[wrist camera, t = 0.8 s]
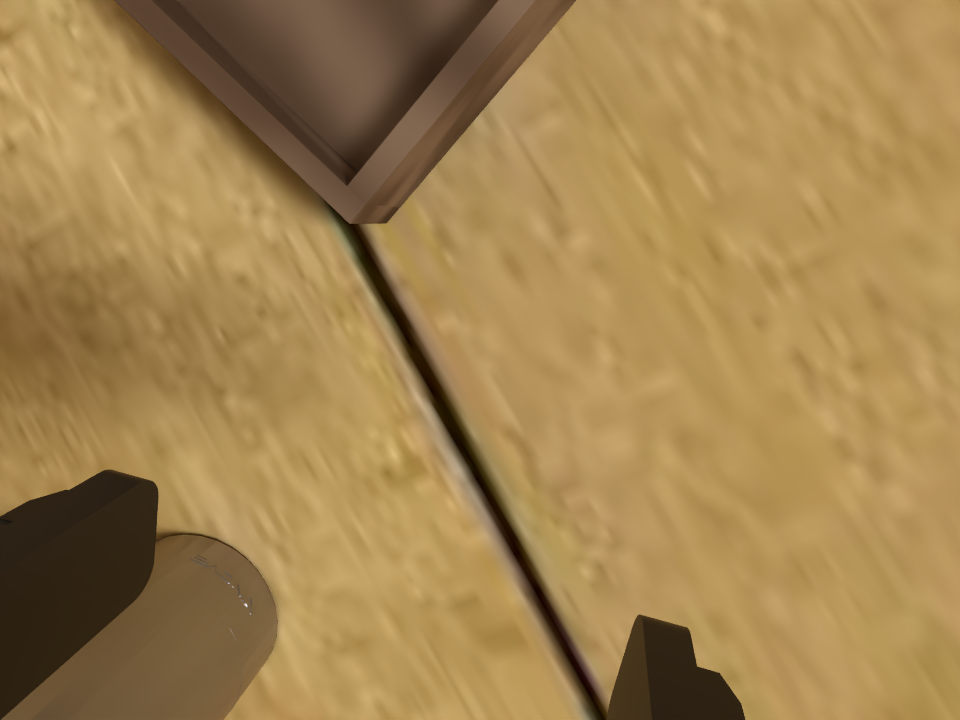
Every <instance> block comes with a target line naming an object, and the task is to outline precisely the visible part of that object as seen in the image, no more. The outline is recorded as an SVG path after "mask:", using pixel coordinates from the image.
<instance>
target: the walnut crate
mask: <svg viewBox="0 0 960 720" xmlns="http://www.w3.org/2000/svg"><path fill="white" fill-rule="evenodd" d="M115 1H116V2H117V3H118V4H119V5H120V6H121V7H122V8H123V9H124V10H125V11H126V12H127V13H128V14H129V15H130V16H131V17H133V18H134V19H135V20H136V21H137V22H138V23H139V24H140V25H141V26H142V27H143V28H144V29H145V30H146V31H147V32H148V33H149V34H150V35H151V36H153V37H154V38H155V39H156V40H157V41H158V42H159V43H160V44H161V45H162V46H163V47H164V48H165V49H166V50H167V51H168V52H169V53H170V54H171V55H173V56H174V57H175V58H176V59H177V60H178V61H179V62H180V63H181V64H182V65H183V66H184V67H185V68H186V69H187V70H188V71H189V72H190V73H191V74H193V75H194V76H195V77H196V78H197V79H198V80H199V81H200V82H201V83H202V84H203V85H204V86H205V87H206V88H207V89H208V90H209V91H210V92H211V93H213V94H214V95H215V96H216V97H217V98H218V99H219V100H220V101H221V102H222V103H223V104H224V105H225V106H226V107H227V108H228V109H229V110H230V111H232V112H233V113H234V114H235V115H236V116H237V117H238V118H239V119H240V120H241V121H242V122H243V123H244V124H245V125H246V126H247V127H248V128H249V129H250V130H252V131H253V132H254V133H255V134H256V135H257V136H258V137H259V138H260V139H261V140H262V141H263V142H264V143H265V144H266V145H267V146H268V147H269V148H270V149H272V150H273V151H274V152H275V153H276V154H277V155H278V156H279V157H280V158H281V159H282V160H283V161H284V162H285V163H286V164H287V165H288V166H289V167H290V168H292V169H293V170H294V171H295V172H296V173H297V174H298V175H299V176H300V177H301V178H302V179H303V180H304V181H305V182H306V183H307V184H308V185H309V186H310V187H312V188H313V189H314V190H315V191H316V192H317V193H318V194H319V195H320V196H321V197H322V198H323V199H324V200H325V201H326V202H327V203H328V204H329V205H331V206H332V207H333V208H334V209H335V210H336V211H337V212H338V213H339V214H340V215H341V216H342V217H343V218H344V219H345V220H346V221H347V222H348V223H349V224H371V223H387V222H388V221H389V220H390V219H391V217H392V216H393V215H394V214H395V213H396V211H397V210H398V209H399V208H400V207H401V206H402V204H403V203H404V202H405V201H406V200H407V199H408V197H409V196H410V195H411V194H412V193H413V191H414V190H415V189H416V188H417V187H418V186H419V184H420V183H421V182H422V181H423V180H424V179H425V177H426V176H427V175H428V174H429V173H430V171H431V170H432V169H433V168H434V167H435V166H436V164H437V163H438V162H439V161H440V160H441V159H442V157H443V156H444V155H445V154H446V153H447V152H448V150H449V149H450V148H451V147H452V146H453V144H454V143H455V142H456V141H457V140H458V139H459V137H460V136H461V135H462V134H463V133H464V132H465V130H466V129H467V128H468V127H469V126H470V124H471V123H472V122H473V121H474V120H475V119H476V117H477V116H478V115H479V114H480V113H481V112H482V110H483V109H484V108H485V107H486V106H487V104H488V103H489V102H490V101H491V100H492V99H493V97H494V96H495V95H496V94H497V93H498V92H499V90H500V89H501V88H502V87H503V86H504V84H505V83H506V82H507V81H508V80H509V79H510V77H511V76H512V75H513V74H514V73H515V72H516V70H517V69H518V68H519V67H520V66H521V64H522V63H523V62H524V61H525V60H526V59H527V57H528V56H529V55H530V54H531V53H532V52H533V50H534V49H535V48H536V47H537V46H538V44H539V43H540V42H541V41H542V40H543V39H544V37H545V36H546V35H547V34H548V33H549V32H550V30H551V29H552V28H553V27H554V26H555V25H556V23H557V22H558V21H559V20H560V19H561V17H562V16H563V15H564V14H565V13H566V12H567V10H568V9H569V8H570V7H571V6H572V5H573V3H574V2H575V1H576V0H115Z"/></svg>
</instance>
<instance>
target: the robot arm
mask: <svg viewBox="0 0 960 720" xmlns="http://www.w3.org/2000/svg"><path fill="white" fill-rule="evenodd" d="M157 510H158V488H157V486H156V484H155V483H154V482H153V481H150V480H147V479H143V478H139V477H136V476H132V475H129V474H125V473H121V472H118V471H114V470H104V471H102V472H100V473H98V474H96V475H95V476H93V477H91V478H89V479H88V480H86V481H84V482H82V483H81V484H79V485H77V486H75V487H74V488H72V489H70V490H64V491H60V492H57V493H54V494H50V495H47V496H43V497H40V498H37V499H33V500H30V501H28V502H26V503H24V504H22V505H20V506H18V507H17V508H15V509H13V510H11V511H9V512H8V513H6V514H4V515H2V516H0V720H224V719H225V717H226V716H227V715H228V713H229V712H230V711H231V709H232V708H233V707H234V705H235V704H236V702H237V701H238V700H239V698H240V697H241V695H242V694H243V693H244V691H245V690H246V689H247V687H248V686H249V684H250V683H251V682H252V680H253V679H254V677H255V676H256V675H257V673H258V672H259V671H260V669H261V668H262V666H263V665H264V664H265V662H266V660H267V659H268V657H269V656H270V654H271V652H272V650H273V647H274V644H275V641H276V637H277V624H278V620H277V613H276V607H275V603H274V600H273V598H272V595H271V592H270V590H269V588H268V586H267V584H266V583H265V581H264V580H263V578H262V576H261V575H260V573H259V572H258V571H257V570H256V569H255V568H254V567H253V565H252V564H251V563H250V562H249V561H248V560H247V559H246V558H244V557H243V556H242V555H240V554H239V553H238V552H237V551H235V550H234V549H232V548H230V547H228V546H226V545H225V544H223V543H221V542H219V541H216V540H213V539H209V538H206V537H203V536H196V535H184V534H183V535H176V536H168V537H165V538H163V539H160V540H158V541H156V526H157ZM607 720H745V716H744V713H743V709H742V705H741V703H740V701H739V700H738V699H737V697H736V696H735V694H734V693H733V692H732V690H731V689H730V687H729V686H728V684H727V683H726V682H725V680H724V679H723V677H722V676H721V675H720V673H718V672H714V671H711V670H707V669H704V668H700V667H697V664H696V659H695V654H694V649H693V644H692V639H691V634H690V631H689V629H688V628H687V627H683V626H679V625H676V624H672V623H669V622H665V621H661V620H658V619H654V618H651V617H647V616H643V615H638V616H637V618H636V619H635V622H634V624H633V627H632V630H631V634H630V637H629V640H628V643H627V647H626V650H625V653H624V656H623V660H622V663H621V666H620V669H619V673H618V676H617V679H616V682H615V686H614V689H613V692H612V696H611V700H610V704H609V709H608V714H607Z"/></svg>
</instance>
